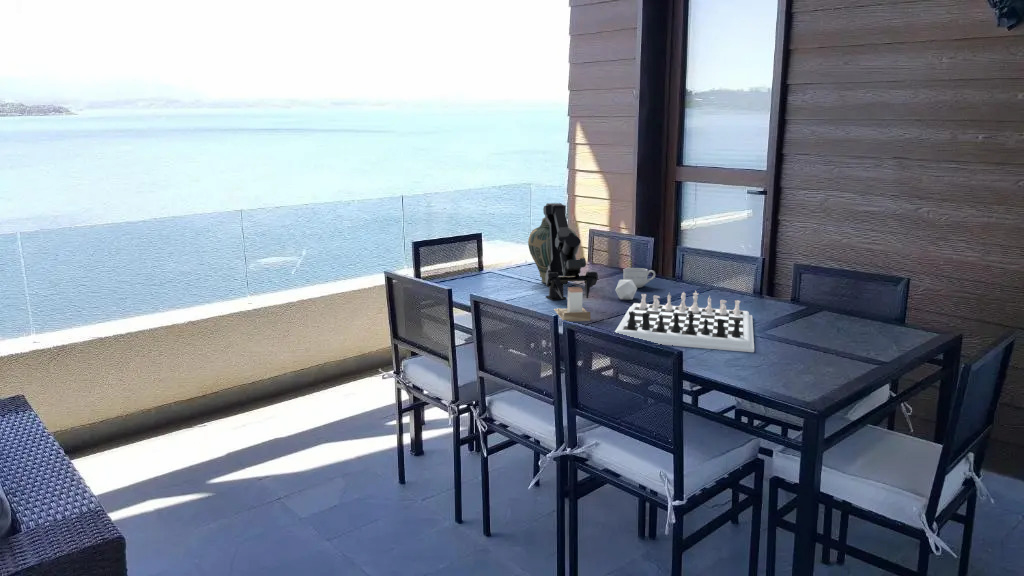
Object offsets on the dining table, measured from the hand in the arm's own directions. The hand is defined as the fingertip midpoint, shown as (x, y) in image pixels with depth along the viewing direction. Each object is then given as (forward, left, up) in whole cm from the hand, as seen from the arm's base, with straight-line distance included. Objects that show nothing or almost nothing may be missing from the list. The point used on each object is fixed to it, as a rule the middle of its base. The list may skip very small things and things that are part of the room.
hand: (575, 298), depth 274 cm
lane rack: (-5, +1, -8) cm, 9 cm away
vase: (-62, +24, -8) cm, 67 cm away
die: (-21, +36, -8) cm, 42 cm away
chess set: (+27, +29, -9) cm, 41 cm away
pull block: (0, 0, -7) cm, 7 cm away
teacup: (-38, +54, -8) cm, 66 cm away
